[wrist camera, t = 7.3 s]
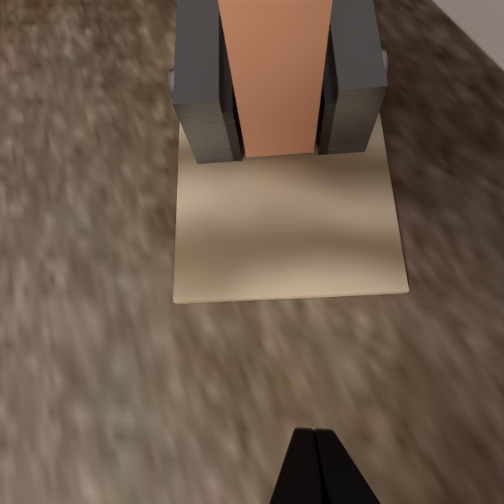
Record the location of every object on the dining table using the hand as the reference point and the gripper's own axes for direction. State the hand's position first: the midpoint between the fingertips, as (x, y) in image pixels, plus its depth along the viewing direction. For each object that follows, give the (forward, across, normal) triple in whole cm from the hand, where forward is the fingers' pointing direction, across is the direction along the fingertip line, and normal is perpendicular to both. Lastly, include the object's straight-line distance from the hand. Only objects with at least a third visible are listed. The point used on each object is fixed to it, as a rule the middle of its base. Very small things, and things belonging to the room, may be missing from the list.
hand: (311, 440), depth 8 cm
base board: (+20, 0, -1) cm, 20 cm away
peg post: (+22, +1, -5) cm, 22 cm away
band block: (+23, +1, -5) cm, 23 cm away
